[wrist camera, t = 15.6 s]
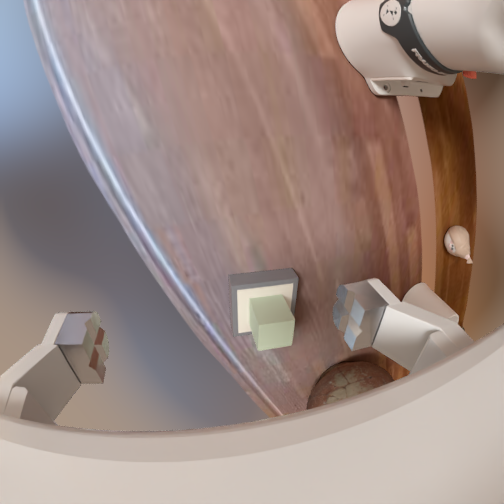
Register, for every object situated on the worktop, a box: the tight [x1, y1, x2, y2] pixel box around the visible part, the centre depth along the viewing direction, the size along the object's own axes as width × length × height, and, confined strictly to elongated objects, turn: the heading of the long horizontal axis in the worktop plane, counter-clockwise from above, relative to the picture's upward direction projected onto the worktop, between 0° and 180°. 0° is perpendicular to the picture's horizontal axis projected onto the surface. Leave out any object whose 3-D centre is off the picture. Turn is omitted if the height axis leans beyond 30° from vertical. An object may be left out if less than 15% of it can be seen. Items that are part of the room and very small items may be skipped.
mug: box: [402, 283, 459, 324], centre depth 51 cm, size 12×8×12 cm
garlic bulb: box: [444, 226, 473, 263], centre depth 47 cm, size 7×6×8 cm
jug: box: [307, 361, 394, 410], centre depth 49 cm, size 22×22×30 cm
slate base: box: [228, 268, 298, 337], centre depth 44 cm, size 10×10×3 cm
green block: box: [249, 294, 295, 351], centre depth 40 cm, size 5×5×6 cm
